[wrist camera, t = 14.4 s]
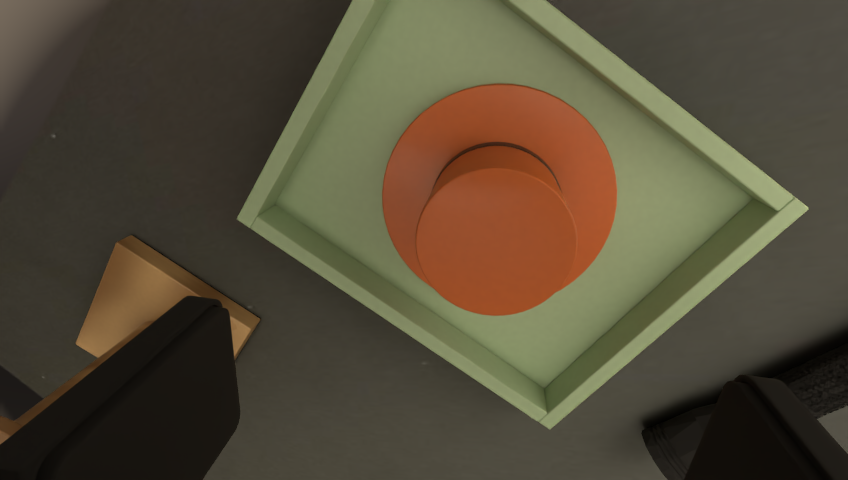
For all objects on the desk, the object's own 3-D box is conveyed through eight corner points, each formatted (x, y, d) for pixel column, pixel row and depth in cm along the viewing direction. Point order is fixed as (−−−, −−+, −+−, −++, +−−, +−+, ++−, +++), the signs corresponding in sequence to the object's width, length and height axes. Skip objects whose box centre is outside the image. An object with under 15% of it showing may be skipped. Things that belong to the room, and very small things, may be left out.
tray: (261, 203, 25) (235, 219, 22) (420, -87, 18) (409, -109, 16) (545, 396, 26) (549, 430, 24) (774, 191, 20) (810, 208, 18)
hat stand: (90, 333, 30) (-116, 472, 20) (131, 234, 27) (-93, 342, 17) (206, 405, 31) (65, 574, 21) (261, 318, 27) (124, 470, 17)
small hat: (345, 222, 24) (302, 267, 18) (471, 29, 19) (462, 19, 14) (512, 337, 25) (516, 411, 19) (667, 179, 20) (725, 221, 15)
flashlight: (635, 419, 26) (651, 462, 23) (965, 258, 20) (1039, 290, 17) (664, 453, 27) (684, 498, 24) (994, 305, 21) (1070, 343, 18)
